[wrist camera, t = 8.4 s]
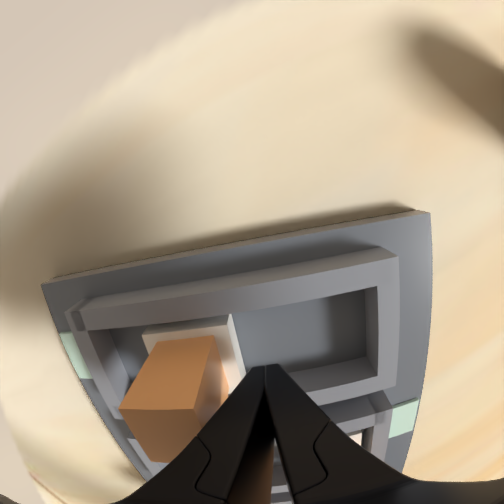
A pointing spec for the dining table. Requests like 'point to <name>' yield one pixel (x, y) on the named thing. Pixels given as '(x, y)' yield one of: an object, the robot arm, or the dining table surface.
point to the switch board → (273, 323)
